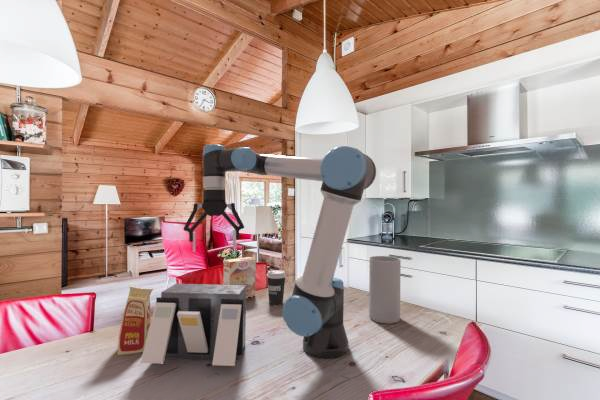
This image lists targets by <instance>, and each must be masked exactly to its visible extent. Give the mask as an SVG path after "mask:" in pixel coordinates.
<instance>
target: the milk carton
mask: <svg viewBox="0 0 600 400" xmlns="http://www.w3.org/2000/svg"><path fill="white" fill-rule="evenodd" d="M128 288H129V293H128V295H127V300H126V303H125V307H124V309H123V313H122V318H121V323H120V327H119V328H120V329H119V335H118V343H117V356H119V355H121V356H122V355H131V354H138V353H143V352H144V348H145V344H146V340H147V335H148V331H149V327H150V323H151V319H152V313H151V296H150V295H151V293H152V291H153V290H154V288H141V287H136V286H132V285H129V287H128Z"/></svg>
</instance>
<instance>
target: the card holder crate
mask: <svg viewBox="0 0 600 400" xmlns="http://www.w3.org/2000/svg"><path fill="white" fill-rule="evenodd" d="M160 294H161V295H160V297H157V296H156V299H155V300H156V301H155V303H176V308H175V313H174V318H173V322H172V327H171V331H170V336H169V341H168V345H167V350H166V354H165V359H172V360H173V359H175V360H176V359H179V360H206V361H207V360H210V361H213V356H214V349H215V343H216V336H217V329H218V322H219V316H220V309H221V304H236V305H242V307H241V316H240V324H239V333H238V342H237V350H236V359H235V362H236V361H237V362H238V361H239V360H240V358H241V356H242V357H243V356H244V355H243V354H244V348H245V347H246V331H247V330H246V326H247V325H246V324H247V323H246V322H247V321H246V320H247V317H246V316H247V314H246V313H247V311H246V310H247V303H246V302H247V299H246V285H223V284H210V283H209V284H206V283H205V284H204V283H199V284H198V283H175V284H173V285H171V286H170V287H167V288H166V289H164V290H163V291H161V293H160ZM178 311H190V312H200V315H201V320H202V324H203V328H204V333H205V337H206V342H207V346H208V352H207V353H198V352H187V348H186V345H185V341H184V337H183V334H182V330H181V327H180V323H179V319H178V316H177V313H178Z"/></svg>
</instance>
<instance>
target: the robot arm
mask: <svg viewBox="0 0 600 400" xmlns="http://www.w3.org/2000/svg"><path fill="white" fill-rule="evenodd" d="M202 172H203V173H202V187H203V189H204V190H203V191H202V198H203V199H202V200H203V201H202V203H201V204H200V203H197V202H196V203H193V209H192V211H191V214H190V215H189V217H188V219H187V221H186V223H185V224H184V227H183V230H184V231H185V232H188V234H189V235H188V238H189V242H190V243H191V242H192V252H193V253H196V232H195V230H196V228H198V226H199V225H200V224H201V223H202V221H203V220H204V219H205V218H206V217H207V216H209V217H213V216H215V217H219V216H222V217H223V218H224V219H225V220H226V221H227V222H228V223H229V224H230V226H231V227H232V228H233V229H234V230H232V249H233V250H237V240H239V239H240V230H243V229H244V228H245V225H244V224H243V222H242V219H241V217H240V216H239V214H238V212H237V210H236V205H235V203H233V202H231V203H227V202H226V190H225V189H226V172H241V173H248V174H255V175H259V176H271V177H281V178H282V177H283V178H288V179H300V180H306V181H307V180H308V181H316V182H321V187H320V192H321V195H322V197H323V200H322V203H321V207H320V211H319V214H318V218H317V223H316V225H315V229H314V234H313V235H312V236H313V237H312V241H311V244H310V248H309V251H308V256H307V258H306V263H305V265H304V270H303V274H302V276H300V277H298V278H296V280H295V283H294V287H293V290H292V294H291V295H290V296H289V297H287V299H286V300H285V302H283V304H282V313H281V314H282V317H283V320H284V322H285V324H286V326H287V328H288V329H289V330H290V331H291V332H293V333H294V334H295V335H297V336H300V337H303V338H302V348H303V350H304V352H306V353H307V354H308V355H311V356H313V357H316V358H320V359H322V358H323V359H334V358H339V357H341V356H345V354H347V353H348V352H349V339H348V336H347V333H346V332H347V331H346V329H345V326H344V305H345V304H344V301H345V299H344V298H345V296H344V294H345V293H344V292H345V289H344V288H345V287H344V281H343V280H342V279H341V278H338V277H335V272H336V269H337V266H338V262H339V260H340V259H339V258H340V254H341V251H342V248H343V244H344V241H345V237H346V234H347V230H348V227H349V225H350V219H351V217H352V214H353V209H354V206H355V205H357V204H359V203H361V200H362V198H363V196H364V195H363V194H364V191H365V190H366V189H368V188H369V187H371V186H372V185H373V183H374V181H375V179H376V177H377V168H376V164H375V162H374V161H373V159H372V158H371V157H370V156H368V155H367V154H365V153H363V152H362V150H359V149H358V148H354V147H353V146H349V145H342V146H341V145H340V146H337V147H334V148H332V149H331V150H329V151H328V152H327V153H326V154H325V155H324V157H323V158H317V157H301V156H290V155H289V156H288V155H287V156H286V155H276V154H264V153H261V154H260V153H256V152H255V151H254V150H253V148H251V147H244V146H243V147H242V146H240V147H236V148H230V149H226V147H225V146H224V145H222V144H217V143H213V144H210V143H209V144H205V145H204V146H203V150H202ZM227 208H228V210H230V211H231V213H232V215H233V216H234V219H235V220H236V222H237V224H236V223H235V222H234V221H233V219H231V217H230V216H229V215H228V214H227V212H226V210H227ZM200 209H203V211H204V212H203V213H202V215H200V217H199V218H198V219H197V220H196V221H195V222H194V223H193V224H192V226H191V227H190V225H191V223H192V221H193V219H194V217H195V216H196V213H197V211H199V210H200Z"/></svg>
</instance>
